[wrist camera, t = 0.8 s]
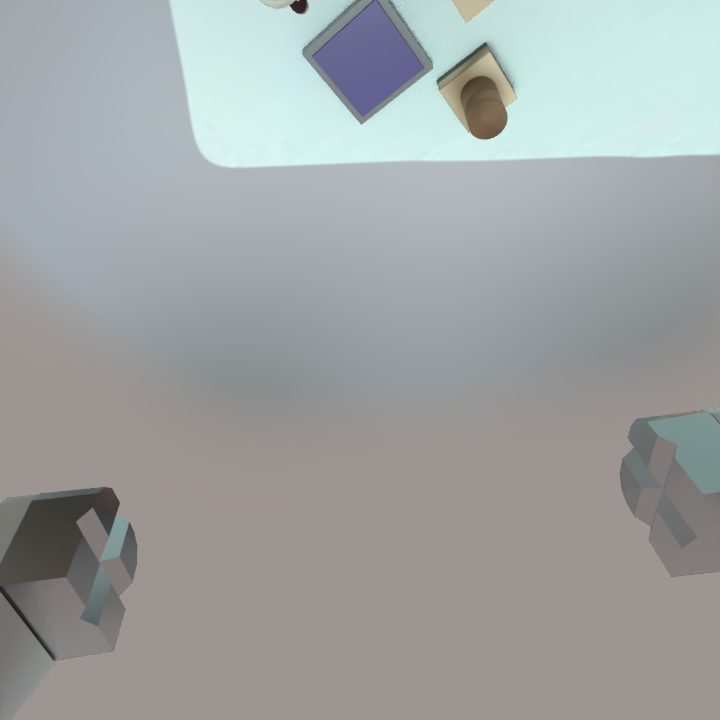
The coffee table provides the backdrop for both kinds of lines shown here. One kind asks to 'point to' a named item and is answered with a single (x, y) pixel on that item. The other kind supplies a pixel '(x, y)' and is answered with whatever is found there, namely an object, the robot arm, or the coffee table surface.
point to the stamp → (478, 93)
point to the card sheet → (470, 7)
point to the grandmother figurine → (297, 4)
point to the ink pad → (368, 57)
